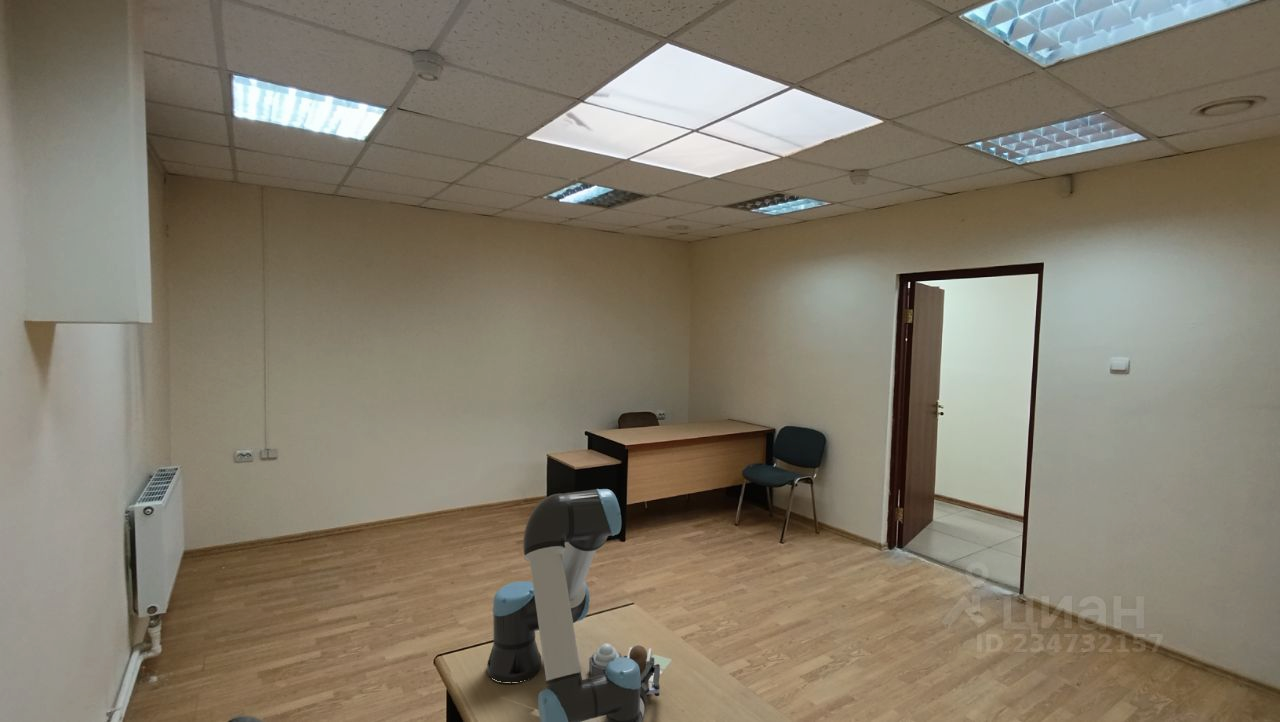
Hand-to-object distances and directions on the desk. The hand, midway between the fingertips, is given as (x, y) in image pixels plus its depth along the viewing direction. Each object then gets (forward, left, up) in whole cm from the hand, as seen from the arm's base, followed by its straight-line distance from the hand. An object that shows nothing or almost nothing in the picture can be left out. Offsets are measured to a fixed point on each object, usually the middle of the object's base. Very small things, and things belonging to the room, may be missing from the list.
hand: (640, 652), depth 159 cm
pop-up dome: (-9, -3, -4) cm, 11 cm away
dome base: (-9, -3, -7) cm, 12 cm away
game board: (+2, +2, -7) cm, 8 cm away
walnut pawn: (+2, -5, -6) cm, 8 cm away
